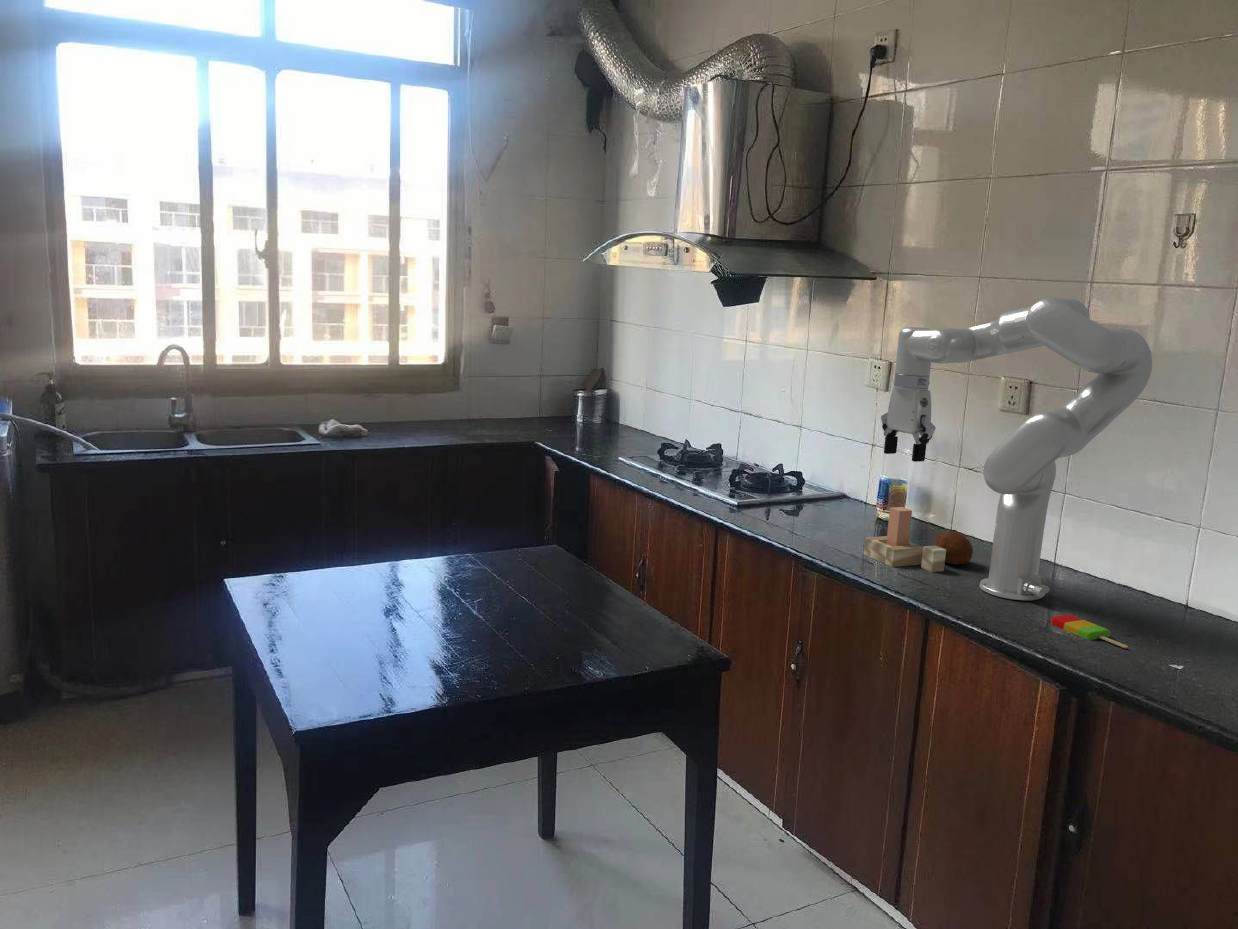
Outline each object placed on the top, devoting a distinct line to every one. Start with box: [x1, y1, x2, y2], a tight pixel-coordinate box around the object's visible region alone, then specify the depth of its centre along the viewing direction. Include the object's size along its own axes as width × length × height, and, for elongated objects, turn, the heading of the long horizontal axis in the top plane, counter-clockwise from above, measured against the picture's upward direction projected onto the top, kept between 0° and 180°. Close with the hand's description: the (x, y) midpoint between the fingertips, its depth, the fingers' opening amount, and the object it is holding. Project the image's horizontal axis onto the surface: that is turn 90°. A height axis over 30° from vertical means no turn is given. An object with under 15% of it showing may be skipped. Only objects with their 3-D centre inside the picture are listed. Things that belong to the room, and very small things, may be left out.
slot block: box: [863, 535, 923, 568], centre depth 226 cm, size 10×8×4 cm
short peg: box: [920, 545, 946, 573], centre depth 219 cm, size 4×4×5 cm
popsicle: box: [1050, 614, 1129, 649], centre depth 182 cm, size 6×15×2 cm, turn 25°
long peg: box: [886, 506, 913, 546], centre depth 226 cm, size 4×4×12 cm
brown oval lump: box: [934, 530, 974, 565], centre depth 225 cm, size 8×11×8 cm
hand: (903, 457), depth 222 cm, fingers open, 9 cm apart
